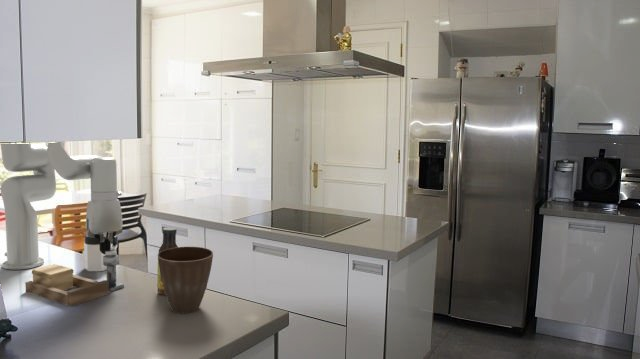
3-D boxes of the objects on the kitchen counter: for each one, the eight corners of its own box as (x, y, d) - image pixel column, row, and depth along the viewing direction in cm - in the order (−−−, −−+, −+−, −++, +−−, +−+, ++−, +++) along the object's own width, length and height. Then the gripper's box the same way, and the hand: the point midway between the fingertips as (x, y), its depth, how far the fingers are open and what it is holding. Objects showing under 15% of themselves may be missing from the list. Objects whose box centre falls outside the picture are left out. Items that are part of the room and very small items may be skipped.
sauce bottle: (159, 296, 147) (158, 231, 145) (155, 290, 152) (154, 227, 150) (181, 293, 150) (181, 230, 148) (177, 287, 155) (176, 225, 153)
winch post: (99, 288, 152) (98, 257, 151) (113, 284, 157) (112, 253, 155) (110, 291, 150) (109, 259, 149) (123, 287, 154) (123, 255, 153)
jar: (114, 269, 172) (113, 235, 171) (89, 273, 167) (88, 238, 165) (106, 263, 179) (105, 230, 177) (82, 266, 174) (81, 233, 172)
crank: (110, 247, 161) (109, 236, 161) (120, 247, 162) (120, 236, 162) (104, 257, 150) (104, 245, 150) (115, 256, 151) (115, 244, 150)
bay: (25, 291, 148) (25, 278, 147) (63, 280, 158) (63, 268, 158) (71, 306, 137) (70, 292, 137) (108, 293, 148) (108, 281, 148)
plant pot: (224, 307, 140) (224, 252, 139) (182, 323, 128) (182, 264, 126) (188, 295, 149) (188, 243, 147) (146, 310, 136) (145, 254, 135)
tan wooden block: (32, 288, 150) (31, 269, 149) (55, 282, 157) (54, 263, 156) (50, 294, 146) (50, 274, 145) (73, 287, 152) (73, 268, 151)
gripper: (123, 193, 163) (124, 247, 165) (75, 196, 153) (76, 254, 155) (132, 196, 157) (133, 252, 159) (82, 200, 147) (84, 259, 149)
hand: (105, 253), depth 157 cm, fingers closed
